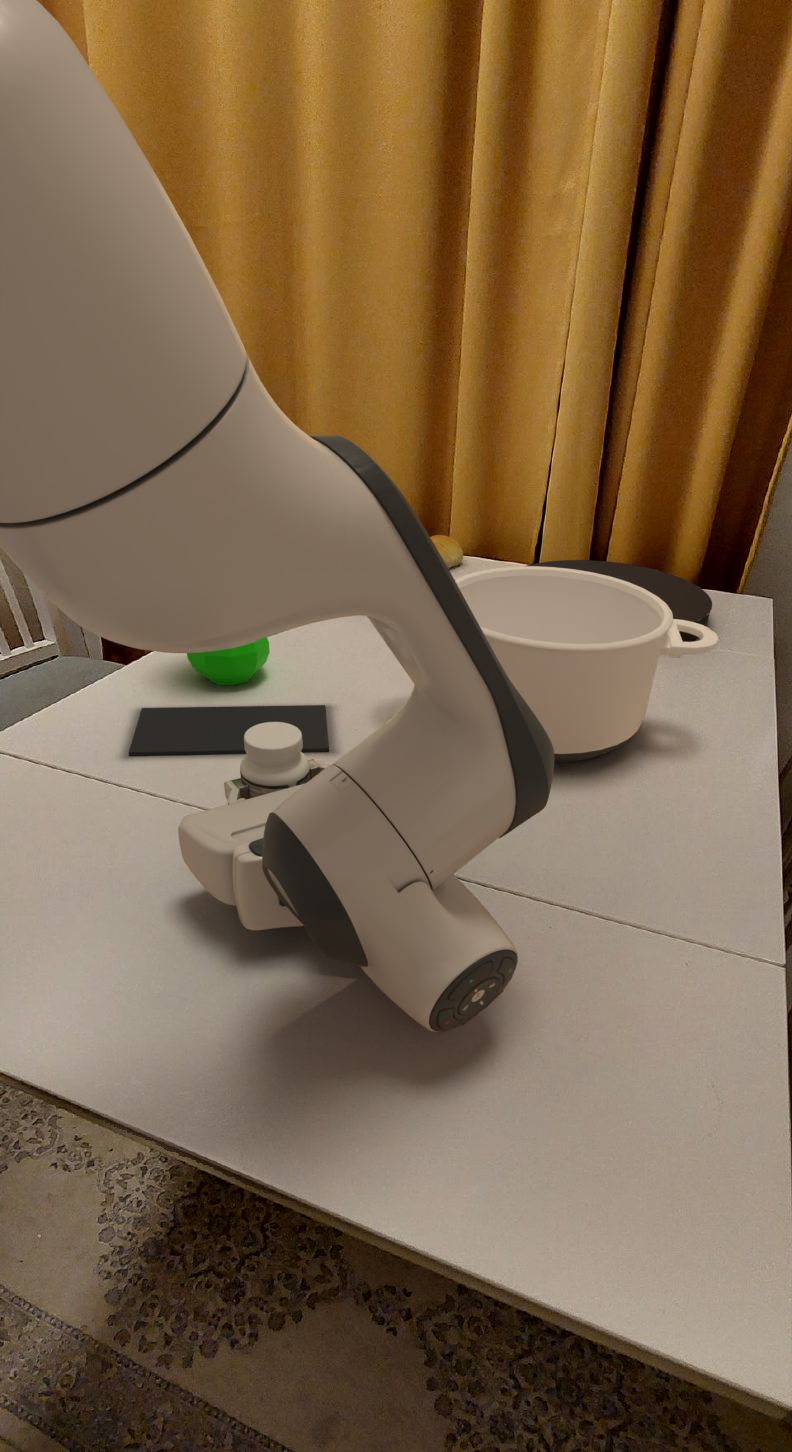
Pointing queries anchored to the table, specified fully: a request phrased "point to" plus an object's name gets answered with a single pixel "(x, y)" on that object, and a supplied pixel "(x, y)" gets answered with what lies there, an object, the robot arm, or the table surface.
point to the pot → (578, 649)
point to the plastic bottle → (231, 662)
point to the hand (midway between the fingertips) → (271, 776)
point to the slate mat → (221, 728)
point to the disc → (652, 587)
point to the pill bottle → (273, 758)
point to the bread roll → (448, 549)
